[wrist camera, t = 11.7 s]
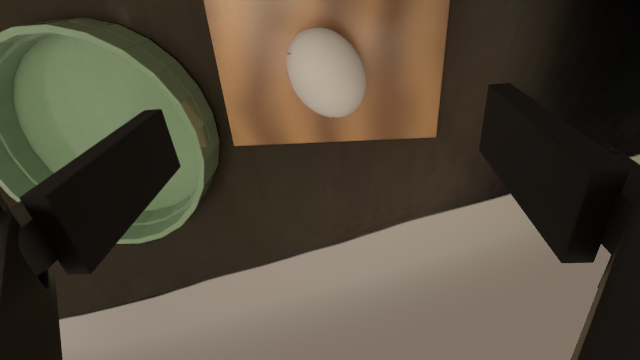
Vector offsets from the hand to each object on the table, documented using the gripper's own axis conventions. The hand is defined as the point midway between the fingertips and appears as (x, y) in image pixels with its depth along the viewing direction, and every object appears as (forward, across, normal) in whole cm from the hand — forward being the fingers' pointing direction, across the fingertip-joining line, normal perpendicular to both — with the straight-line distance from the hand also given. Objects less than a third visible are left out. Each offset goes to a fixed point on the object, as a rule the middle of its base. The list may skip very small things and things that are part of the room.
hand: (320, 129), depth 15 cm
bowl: (+19, -23, -6) cm, 30 cm away
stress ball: (+19, -1, -2) cm, 19 cm away
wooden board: (+19, -1, -2) cm, 19 cm away
